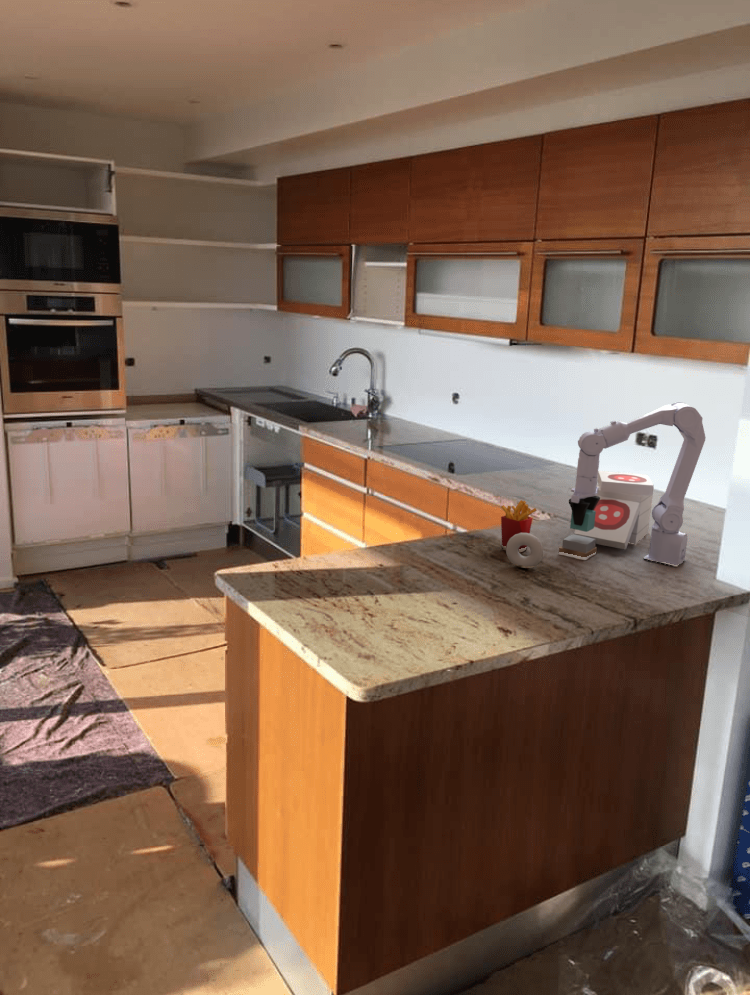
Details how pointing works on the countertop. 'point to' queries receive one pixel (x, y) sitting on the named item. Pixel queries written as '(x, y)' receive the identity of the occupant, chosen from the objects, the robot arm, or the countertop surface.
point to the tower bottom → (577, 552)
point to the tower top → (579, 543)
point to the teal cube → (585, 521)
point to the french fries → (516, 521)
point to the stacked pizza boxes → (621, 509)
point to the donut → (529, 541)
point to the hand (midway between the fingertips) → (582, 522)
